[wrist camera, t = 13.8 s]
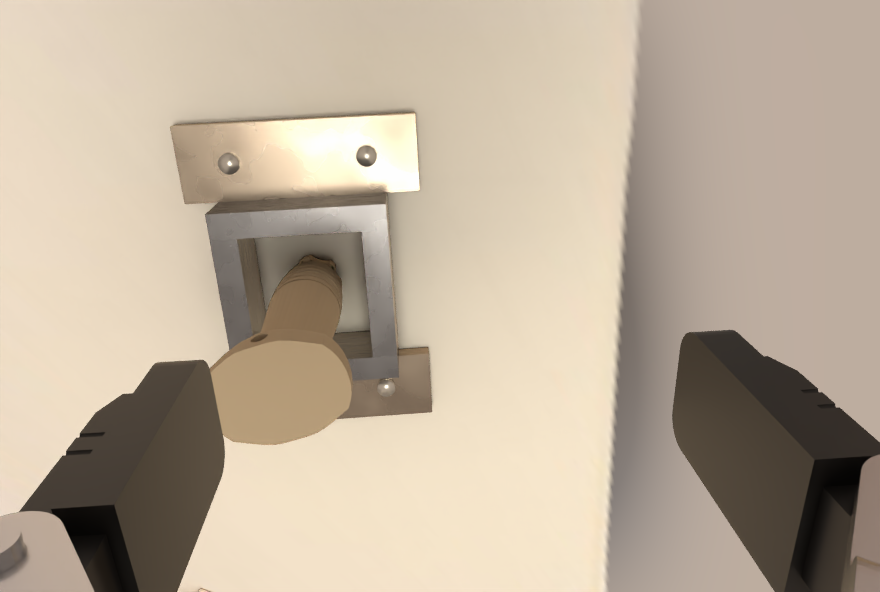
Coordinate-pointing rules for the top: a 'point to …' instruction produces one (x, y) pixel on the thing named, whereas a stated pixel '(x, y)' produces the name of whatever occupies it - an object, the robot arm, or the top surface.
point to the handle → (287, 363)
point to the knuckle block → (311, 226)
